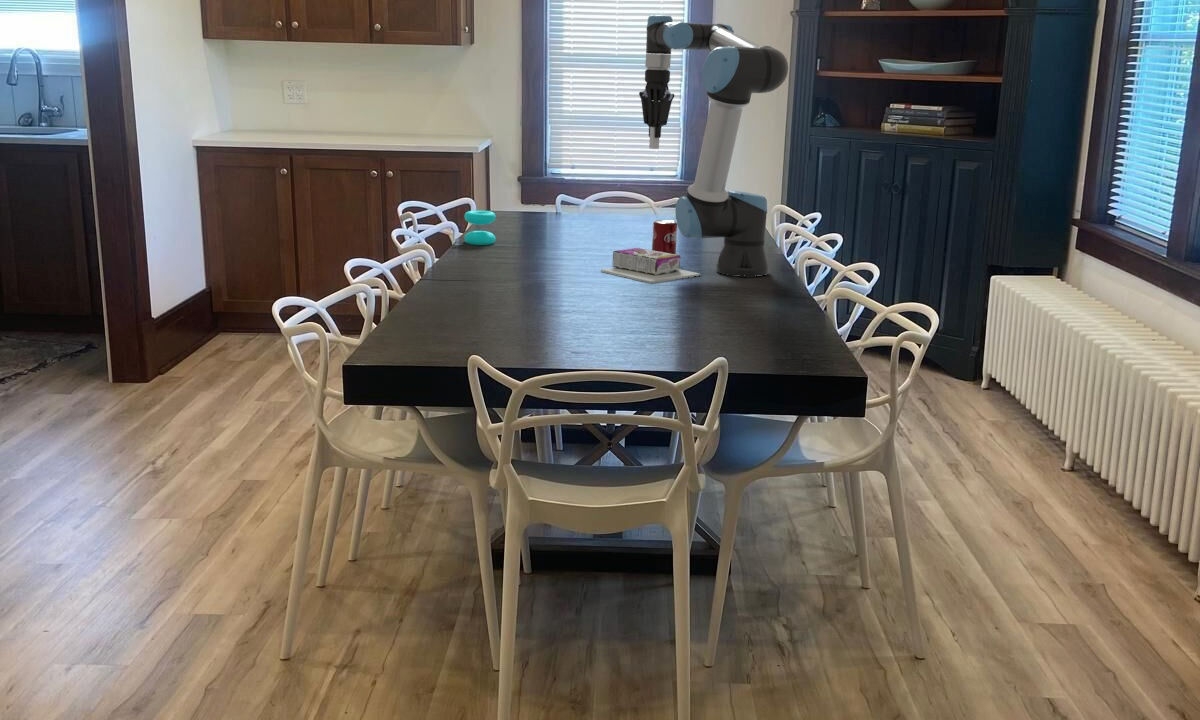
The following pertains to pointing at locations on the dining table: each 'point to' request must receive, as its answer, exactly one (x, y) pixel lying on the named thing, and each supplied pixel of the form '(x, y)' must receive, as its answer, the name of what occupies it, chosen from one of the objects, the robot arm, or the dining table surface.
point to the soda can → (664, 236)
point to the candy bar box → (646, 261)
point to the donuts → (478, 236)
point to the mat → (650, 275)
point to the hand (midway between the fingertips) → (654, 148)
